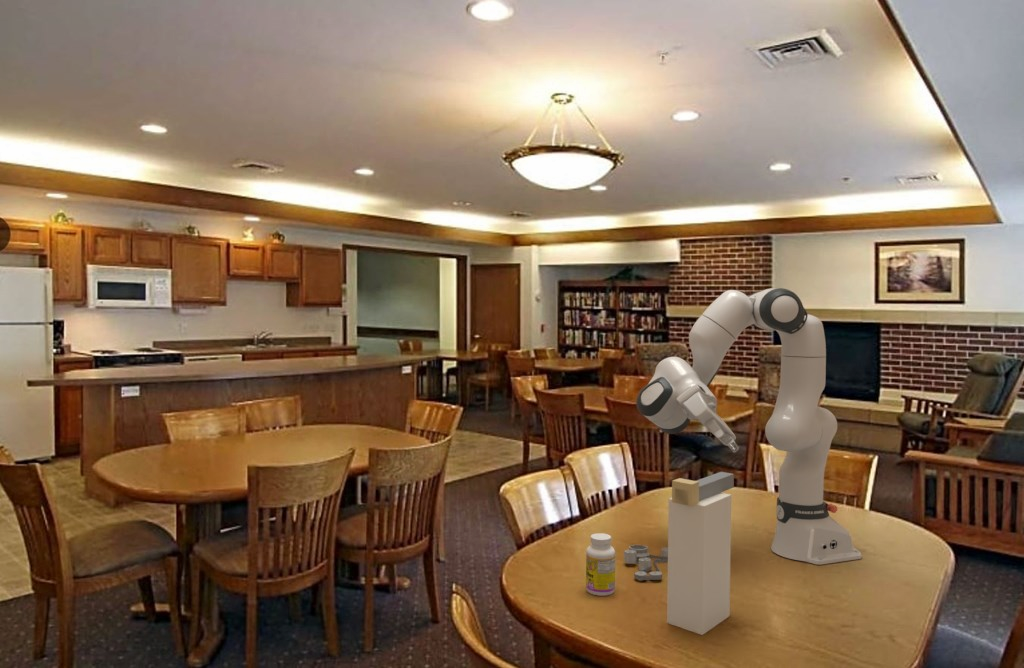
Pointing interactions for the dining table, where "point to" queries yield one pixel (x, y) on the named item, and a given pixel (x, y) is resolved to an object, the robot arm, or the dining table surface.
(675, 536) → the pillar
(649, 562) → the pulley system
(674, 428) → the robot arm
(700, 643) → the dining table surface
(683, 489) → the bar
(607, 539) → the supplement bottle
